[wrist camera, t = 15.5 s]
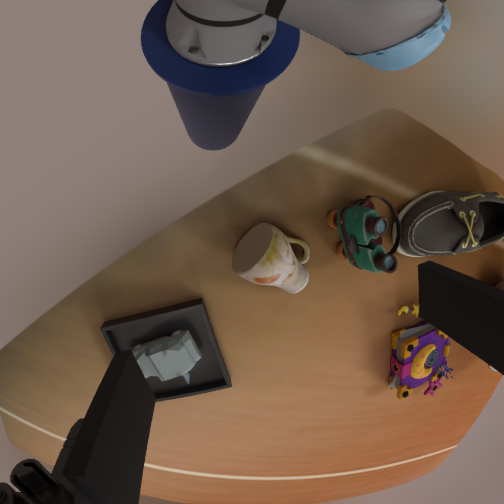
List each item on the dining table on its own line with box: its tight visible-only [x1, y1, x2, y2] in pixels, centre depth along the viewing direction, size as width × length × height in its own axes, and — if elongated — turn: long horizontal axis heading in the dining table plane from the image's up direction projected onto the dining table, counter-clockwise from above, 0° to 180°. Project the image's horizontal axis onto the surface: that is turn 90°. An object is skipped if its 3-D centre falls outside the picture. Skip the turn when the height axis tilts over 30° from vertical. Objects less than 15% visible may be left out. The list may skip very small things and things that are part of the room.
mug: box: [232, 223, 310, 294], centre depth 36 cm, size 8×10×10 cm
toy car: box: [132, 330, 202, 384], centre depth 37 cm, size 6×10×5 cm, turn 111°
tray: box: [100, 298, 232, 402], centre depth 39 cm, size 14×15×2 cm
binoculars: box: [327, 195, 402, 273], centre depth 35 cm, size 9×11×10 cm
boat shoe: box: [392, 191, 504, 257], centre depth 37 cm, size 11×29×9 cm, turn 109°
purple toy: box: [387, 303, 456, 399], centre depth 41 cm, size 15×25×12 cm, turn 12°
